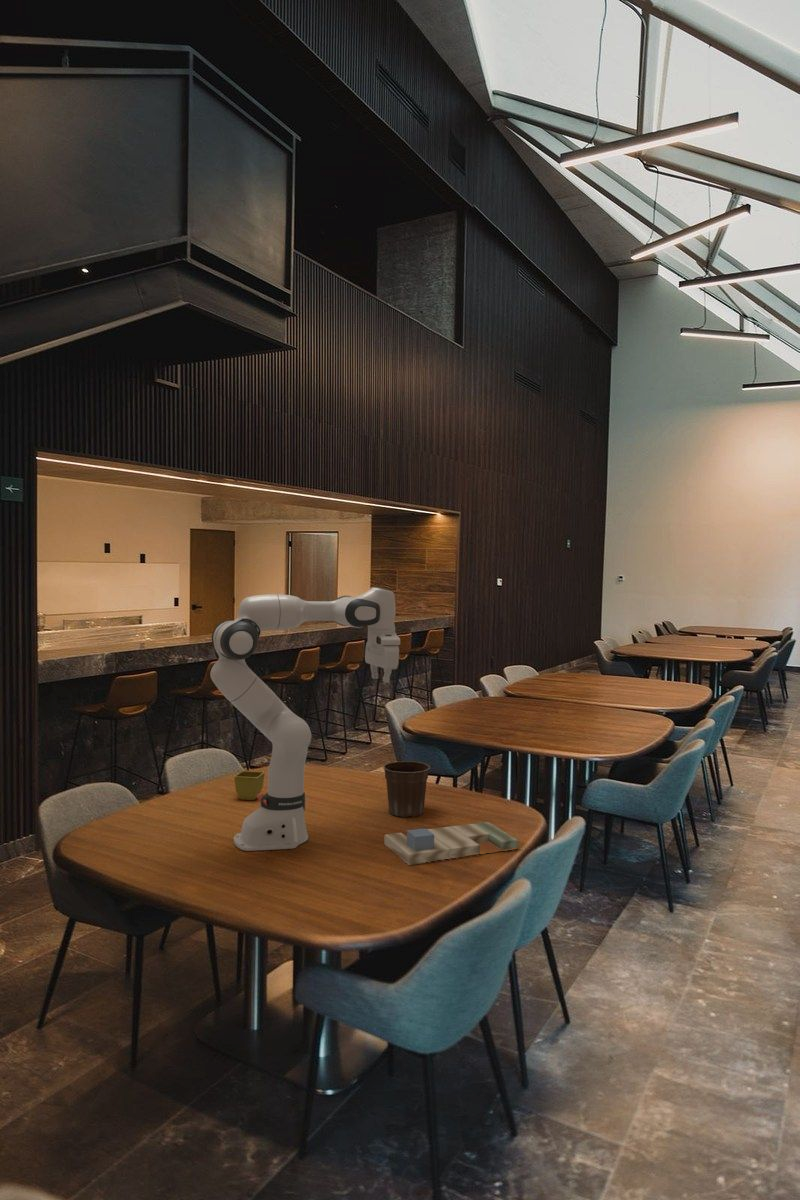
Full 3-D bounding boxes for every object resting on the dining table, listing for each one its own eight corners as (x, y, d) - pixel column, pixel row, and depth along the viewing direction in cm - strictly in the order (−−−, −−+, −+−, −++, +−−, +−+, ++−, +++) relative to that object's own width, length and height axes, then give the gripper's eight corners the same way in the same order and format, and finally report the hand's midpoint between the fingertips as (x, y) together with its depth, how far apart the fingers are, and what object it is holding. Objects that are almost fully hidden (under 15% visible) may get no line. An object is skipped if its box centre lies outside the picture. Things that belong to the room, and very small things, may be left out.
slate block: (415, 850, 218) (415, 836, 218) (406, 843, 224) (406, 830, 224) (433, 848, 221) (434, 834, 221) (425, 841, 226) (425, 828, 226)
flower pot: (241, 794, 281) (242, 770, 281) (264, 795, 280) (265, 771, 280) (233, 801, 273) (233, 776, 272) (256, 802, 272) (257, 777, 271)
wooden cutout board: (408, 865, 215) (408, 854, 215) (384, 844, 232) (384, 834, 232) (517, 849, 230) (517, 839, 229) (487, 831, 246) (487, 821, 246)
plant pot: (374, 815, 260) (375, 768, 259) (392, 803, 275) (393, 758, 274) (419, 822, 254) (420, 774, 253) (435, 809, 269) (436, 763, 268)
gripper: (360, 635, 253) (359, 676, 254) (384, 640, 235) (383, 684, 235) (378, 635, 256) (377, 676, 256) (402, 640, 237) (401, 684, 238)
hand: (380, 680), depth 246 cm, fingers open, 8 cm apart
